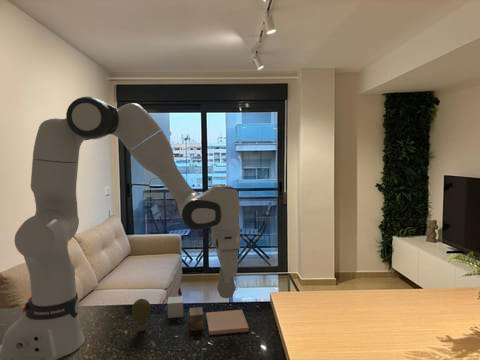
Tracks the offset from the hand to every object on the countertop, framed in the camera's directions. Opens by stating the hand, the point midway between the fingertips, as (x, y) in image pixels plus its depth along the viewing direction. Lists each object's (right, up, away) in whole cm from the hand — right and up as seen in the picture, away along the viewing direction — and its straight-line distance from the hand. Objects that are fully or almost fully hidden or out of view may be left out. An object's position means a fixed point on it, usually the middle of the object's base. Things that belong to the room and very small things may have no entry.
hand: (226, 279), depth 113 cm
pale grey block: (-17, -14, +8) cm, 24 cm away
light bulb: (-26, -15, -3) cm, 30 cm away
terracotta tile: (0, -14, +2) cm, 14 cm away
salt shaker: (0, -5, +1) cm, 5 cm away
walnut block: (-9, -15, 0) cm, 17 cm away
